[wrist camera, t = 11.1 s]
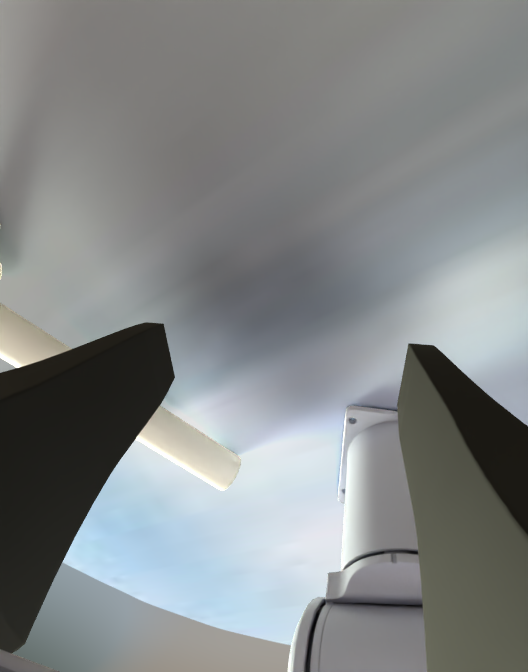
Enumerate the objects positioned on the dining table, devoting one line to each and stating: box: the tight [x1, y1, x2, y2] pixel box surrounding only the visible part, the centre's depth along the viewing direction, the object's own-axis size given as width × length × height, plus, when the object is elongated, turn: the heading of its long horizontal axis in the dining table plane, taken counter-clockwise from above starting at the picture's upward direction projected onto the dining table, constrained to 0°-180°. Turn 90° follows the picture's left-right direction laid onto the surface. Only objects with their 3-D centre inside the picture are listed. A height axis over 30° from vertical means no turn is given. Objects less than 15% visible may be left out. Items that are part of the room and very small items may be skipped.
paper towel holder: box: [0, 224, 241, 491], centre depth 23 cm, size 9×9×32 cm
